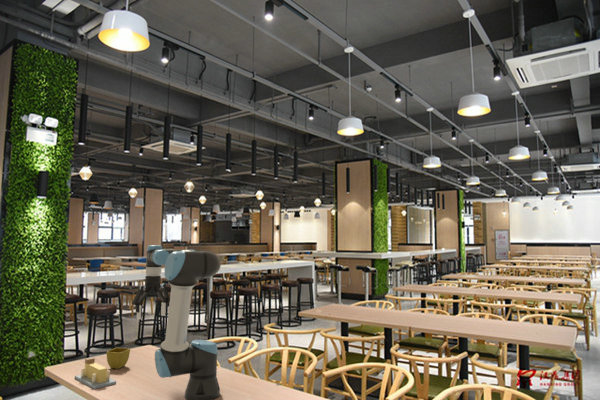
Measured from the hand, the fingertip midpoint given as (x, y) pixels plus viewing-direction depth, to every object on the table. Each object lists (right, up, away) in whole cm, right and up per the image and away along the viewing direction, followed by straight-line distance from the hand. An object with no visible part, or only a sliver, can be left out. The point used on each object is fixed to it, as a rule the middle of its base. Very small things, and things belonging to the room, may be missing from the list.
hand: (151, 317), depth 211 cm
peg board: (-23, -27, -12) cm, 38 cm away
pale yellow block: (-23, -26, -12) cm, 37 cm away
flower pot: (-21, -30, +9) cm, 38 cm away
